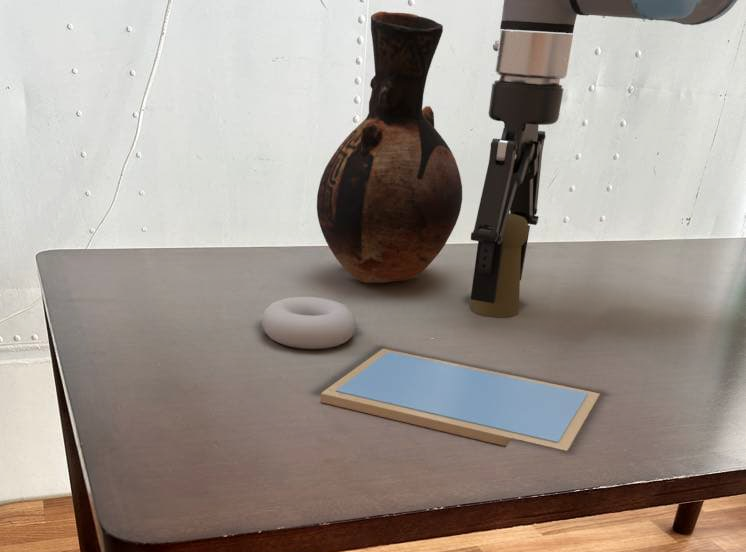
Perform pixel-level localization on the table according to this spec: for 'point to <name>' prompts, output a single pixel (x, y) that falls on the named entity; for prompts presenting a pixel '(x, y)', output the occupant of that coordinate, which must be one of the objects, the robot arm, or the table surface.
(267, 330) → the donut
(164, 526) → the table surface
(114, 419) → the table surface
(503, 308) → the olive pawn piece
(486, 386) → the tablet
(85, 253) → the table surface
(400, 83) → the ceramic vessel
